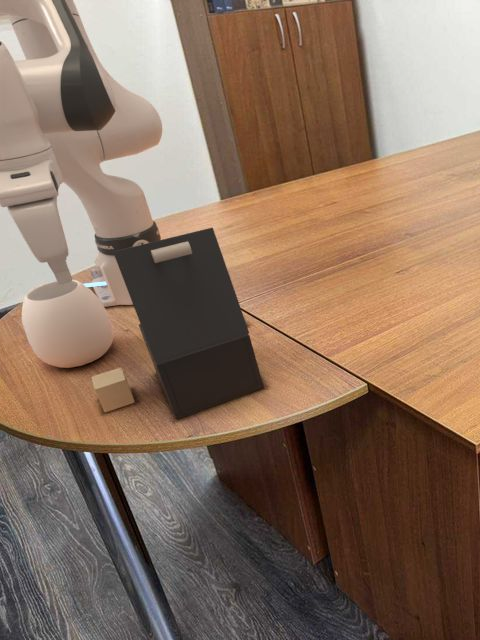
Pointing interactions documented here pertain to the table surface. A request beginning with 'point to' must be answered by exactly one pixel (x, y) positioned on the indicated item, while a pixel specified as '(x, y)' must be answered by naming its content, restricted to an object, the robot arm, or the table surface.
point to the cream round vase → (66, 324)
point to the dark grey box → (208, 375)
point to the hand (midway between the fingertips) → (63, 270)
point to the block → (112, 389)
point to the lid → (181, 293)
